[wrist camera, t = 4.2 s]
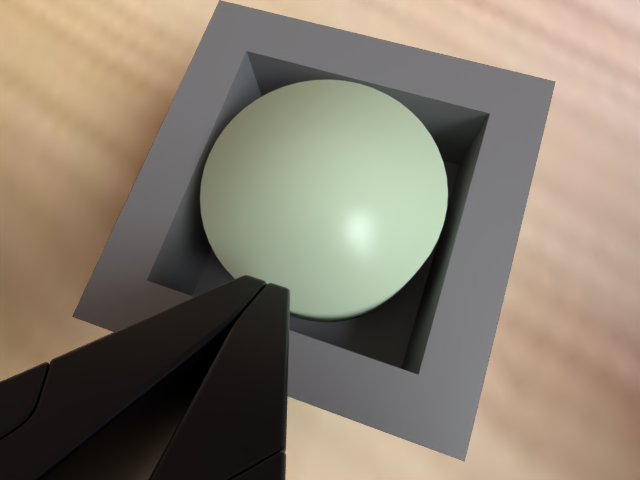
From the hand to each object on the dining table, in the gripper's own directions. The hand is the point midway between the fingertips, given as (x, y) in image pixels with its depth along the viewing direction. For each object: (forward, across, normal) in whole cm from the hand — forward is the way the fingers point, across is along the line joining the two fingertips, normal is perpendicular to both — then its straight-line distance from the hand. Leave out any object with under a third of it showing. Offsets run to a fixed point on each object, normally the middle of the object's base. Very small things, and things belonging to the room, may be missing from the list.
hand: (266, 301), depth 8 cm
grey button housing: (+9, 0, +5) cm, 10 cm away
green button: (+5, 0, +1) cm, 5 cm away
